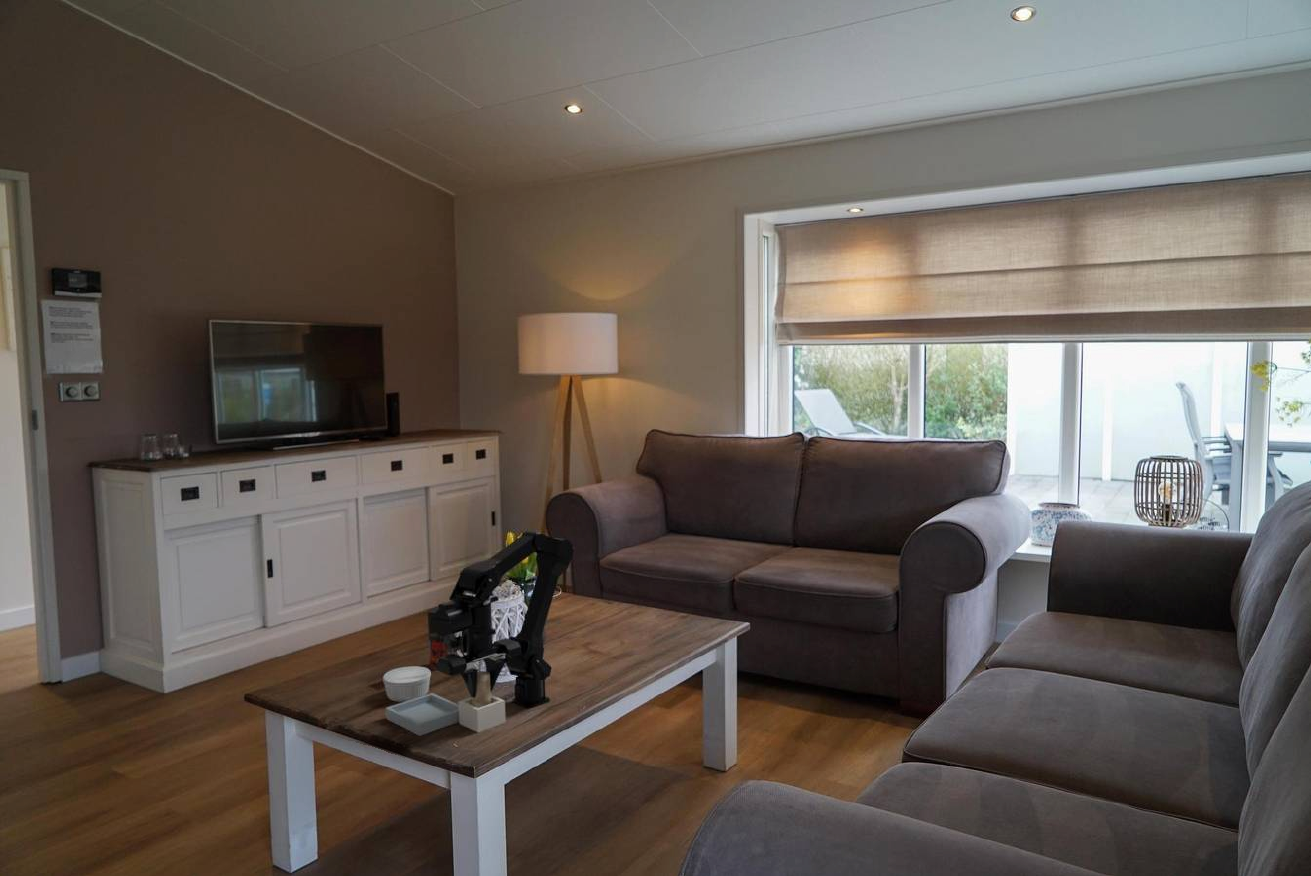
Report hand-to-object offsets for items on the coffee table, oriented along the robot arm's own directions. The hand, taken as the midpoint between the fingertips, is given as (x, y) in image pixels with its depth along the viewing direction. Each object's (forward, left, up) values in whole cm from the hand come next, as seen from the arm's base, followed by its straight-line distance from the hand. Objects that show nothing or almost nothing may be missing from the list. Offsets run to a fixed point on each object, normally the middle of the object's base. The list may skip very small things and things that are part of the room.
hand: (481, 694), depth 197 cm
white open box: (0, 0, -6) cm, 6 cm away
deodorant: (-15, -40, -7) cm, 43 cm away
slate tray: (+7, -11, -6) cm, 15 cm away
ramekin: (+2, -28, -7) cm, 29 cm away
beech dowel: (0, 0, -6) cm, 6 cm away
